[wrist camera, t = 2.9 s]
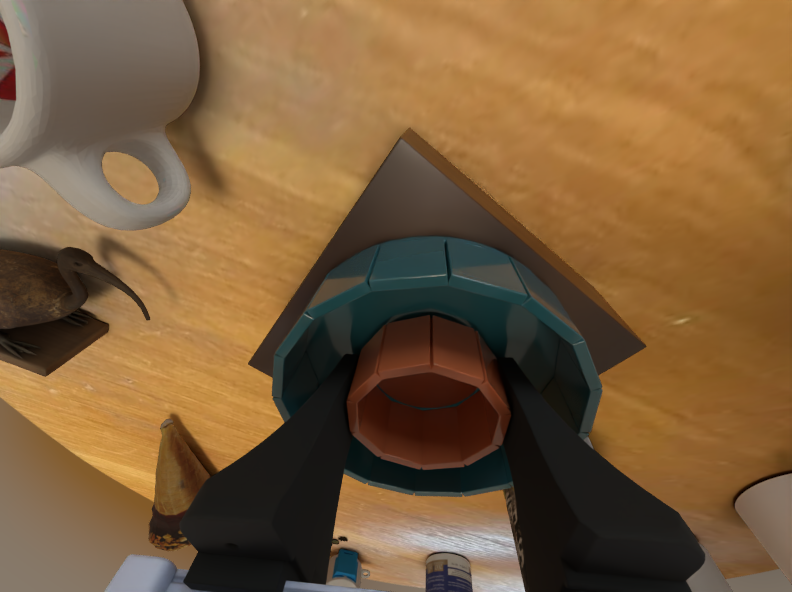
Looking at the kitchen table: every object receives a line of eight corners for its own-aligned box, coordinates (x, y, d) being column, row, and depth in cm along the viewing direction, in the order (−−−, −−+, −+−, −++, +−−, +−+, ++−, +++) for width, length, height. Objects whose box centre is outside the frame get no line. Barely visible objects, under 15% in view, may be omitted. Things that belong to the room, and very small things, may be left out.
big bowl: (625, 347, 13) (676, 411, 10) (440, 460, 19) (441, 521, 16) (403, 165, 10) (394, 187, 7) (262, 363, 16) (227, 417, 13)
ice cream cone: (109, 423, 26) (144, 532, 32) (129, 469, 22) (163, 581, 28) (193, 389, 30) (209, 490, 36) (219, 424, 27) (232, 528, 33)
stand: (593, 287, 17) (647, 347, 13) (439, 402, 23) (441, 468, 19) (409, 126, 14) (400, 136, 10) (285, 309, 20) (247, 364, 16)
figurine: (167, 355, 23) (181, 266, 19) (116, 404, 20) (119, 307, 15) (-42, 271, 21) (-82, 146, 17) (-147, 308, 17) (-235, 159, 13)
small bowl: (523, 357, 13) (547, 421, 11) (432, 421, 16) (433, 486, 13) (418, 281, 12) (414, 334, 9) (339, 367, 15) (318, 426, 12)
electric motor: (325, 533, 41) (316, 565, 41) (316, 570, 36) (306, 605, 37) (375, 544, 41) (366, 575, 42) (374, 583, 36) (363, 617, 37)
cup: (291, 171, 15) (183, 223, 9) (168, 215, 17) (0, 287, 11) (140, -158, 10) (-417, -663, 4) (-12, -44, 12) (-564, -229, 5)
